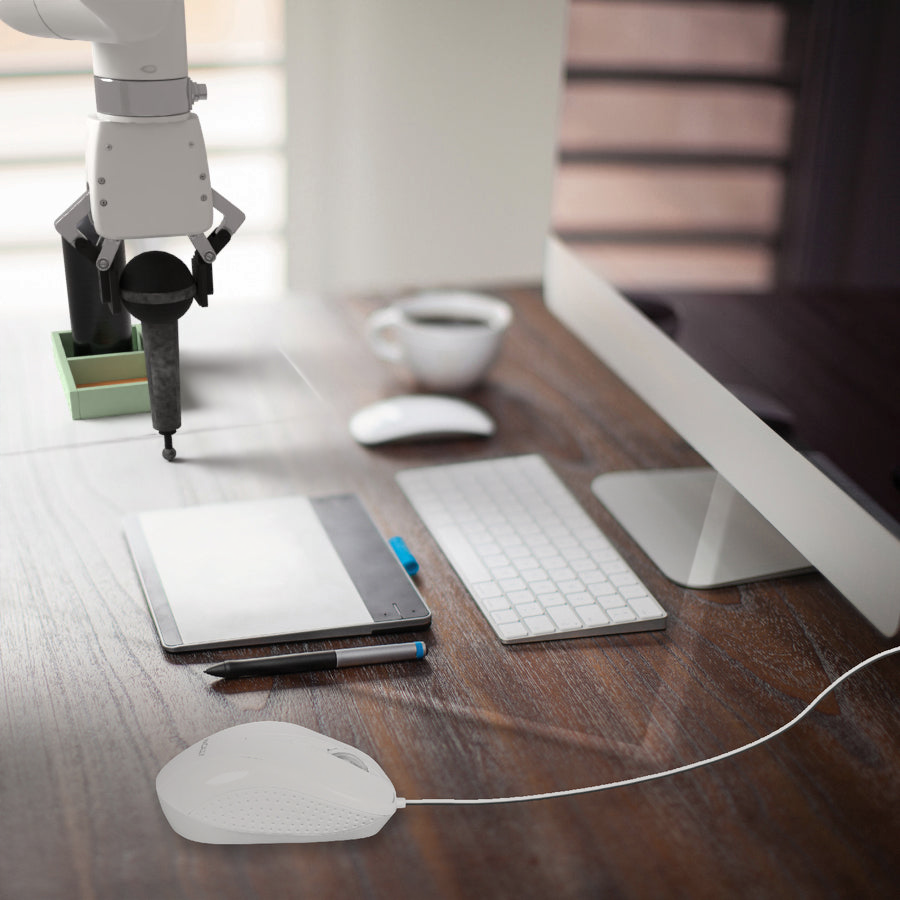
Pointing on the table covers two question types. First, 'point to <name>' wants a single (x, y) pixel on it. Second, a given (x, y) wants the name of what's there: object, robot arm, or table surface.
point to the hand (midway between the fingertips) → (158, 305)
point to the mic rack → (102, 378)
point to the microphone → (160, 330)
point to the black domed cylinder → (94, 302)
